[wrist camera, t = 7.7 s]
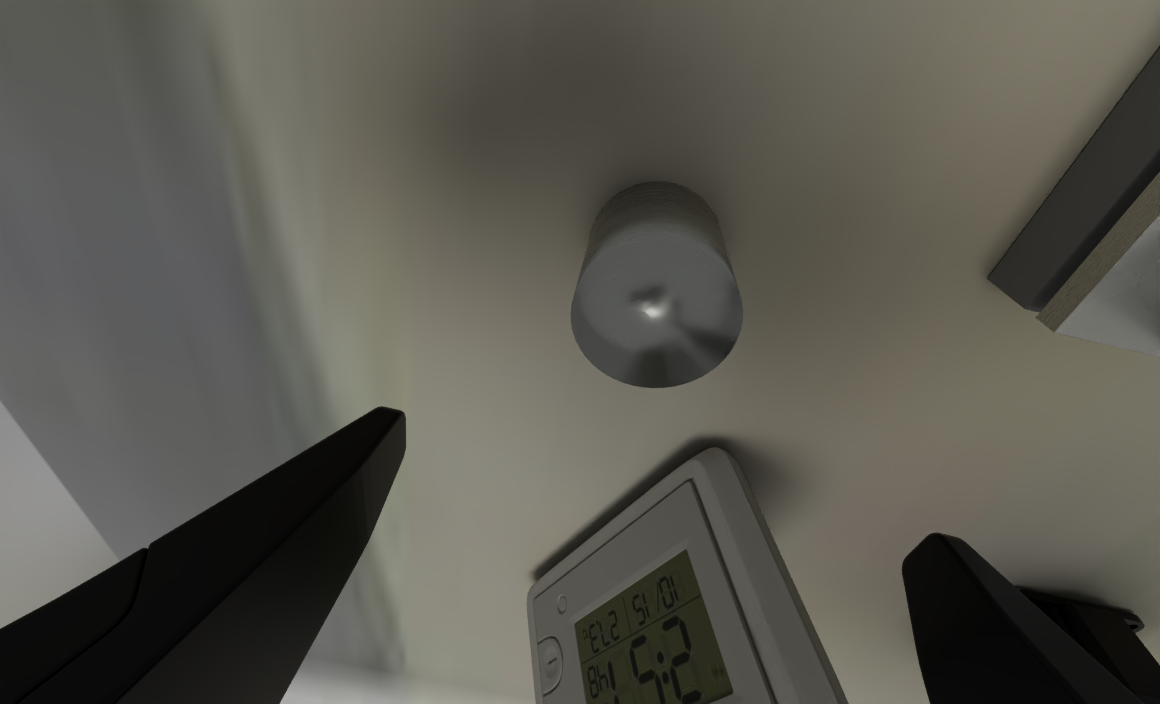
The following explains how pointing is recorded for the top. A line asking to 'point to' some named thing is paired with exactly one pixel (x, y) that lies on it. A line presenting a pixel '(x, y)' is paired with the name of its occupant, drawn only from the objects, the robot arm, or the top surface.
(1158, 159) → the scale base
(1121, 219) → the platform
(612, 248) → the cylinder
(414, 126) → the top surface
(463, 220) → the top surface
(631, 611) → the digital clock
